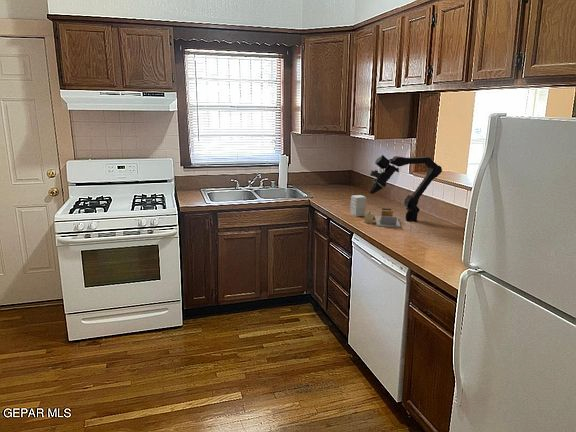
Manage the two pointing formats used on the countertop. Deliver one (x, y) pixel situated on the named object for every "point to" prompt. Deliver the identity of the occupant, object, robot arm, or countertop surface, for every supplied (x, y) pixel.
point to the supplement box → (358, 205)
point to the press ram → (386, 212)
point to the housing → (368, 217)
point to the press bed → (387, 221)
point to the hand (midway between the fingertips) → (370, 193)
